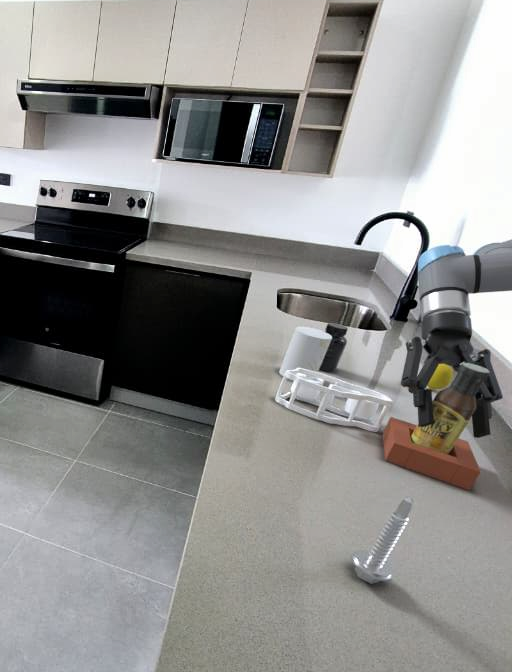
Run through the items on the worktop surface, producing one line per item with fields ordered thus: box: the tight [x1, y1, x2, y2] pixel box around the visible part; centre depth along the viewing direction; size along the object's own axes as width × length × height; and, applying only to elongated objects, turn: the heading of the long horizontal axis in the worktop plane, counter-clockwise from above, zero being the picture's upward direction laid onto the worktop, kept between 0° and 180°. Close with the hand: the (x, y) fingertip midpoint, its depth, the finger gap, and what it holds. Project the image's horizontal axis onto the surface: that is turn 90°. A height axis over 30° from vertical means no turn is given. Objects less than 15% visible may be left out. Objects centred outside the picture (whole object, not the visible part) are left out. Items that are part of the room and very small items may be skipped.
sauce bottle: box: [411, 362, 490, 454], centre depth 92 cm, size 6×6×20 cm
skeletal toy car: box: [274, 368, 394, 433], centre depth 108 cm, size 20×11×7 cm, turn 53°
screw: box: [350, 496, 415, 585], centre depth 63 cm, size 13×5×5 cm
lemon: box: [427, 364, 454, 391], centre depth 130 cm, size 6×6×8 cm
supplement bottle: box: [319, 322, 349, 372], centre depth 134 cm, size 7×7×12 cm
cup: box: [279, 326, 332, 382], centre depth 124 cm, size 8×8×12 cm
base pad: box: [382, 416, 482, 491], centre depth 95 cm, size 13×13×4 cm
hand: (453, 430), depth 90 cm, fingers open, 9 cm apart
